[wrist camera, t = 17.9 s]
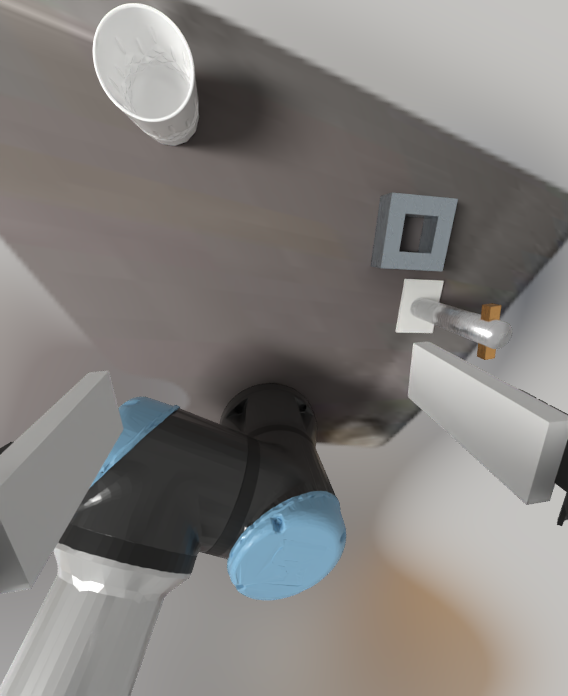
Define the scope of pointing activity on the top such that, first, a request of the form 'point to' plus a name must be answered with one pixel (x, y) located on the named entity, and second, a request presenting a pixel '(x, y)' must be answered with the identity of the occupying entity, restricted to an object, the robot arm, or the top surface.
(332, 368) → the top surface
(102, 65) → the white cup
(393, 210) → the block
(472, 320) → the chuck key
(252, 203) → the top surface
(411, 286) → the mat
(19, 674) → the robot arm
